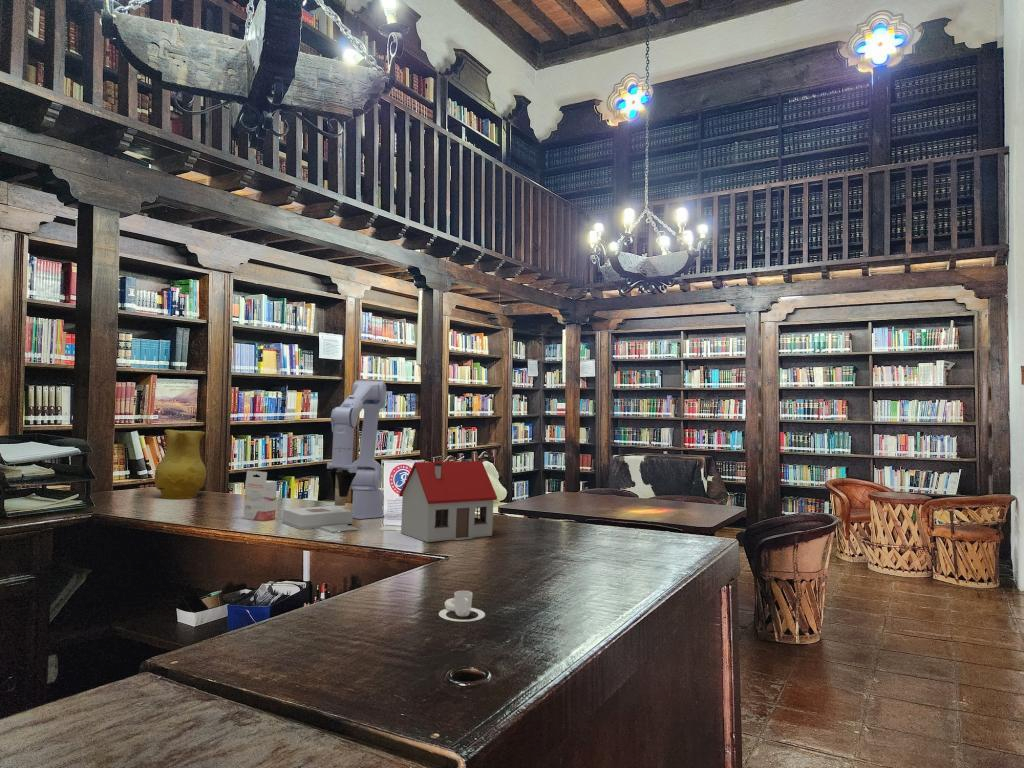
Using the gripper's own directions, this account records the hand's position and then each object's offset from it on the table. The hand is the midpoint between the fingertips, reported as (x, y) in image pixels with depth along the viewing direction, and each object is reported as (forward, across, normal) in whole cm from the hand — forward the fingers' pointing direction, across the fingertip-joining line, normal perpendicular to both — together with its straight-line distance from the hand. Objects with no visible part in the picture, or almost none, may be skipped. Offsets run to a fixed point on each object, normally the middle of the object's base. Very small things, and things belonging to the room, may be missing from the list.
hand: (340, 495), depth 189 cm
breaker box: (+10, -12, -1) cm, 15 cm away
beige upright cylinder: (+3, 0, 0) cm, 3 cm away
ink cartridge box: (+10, -28, -12) cm, 32 cm away
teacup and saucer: (+10, +83, -17) cm, 85 cm away
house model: (+10, +23, +22) cm, 33 cm away
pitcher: (+10, -90, -17) cm, 92 cm away
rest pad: (+10, 0, 0) cm, 10 cm away
